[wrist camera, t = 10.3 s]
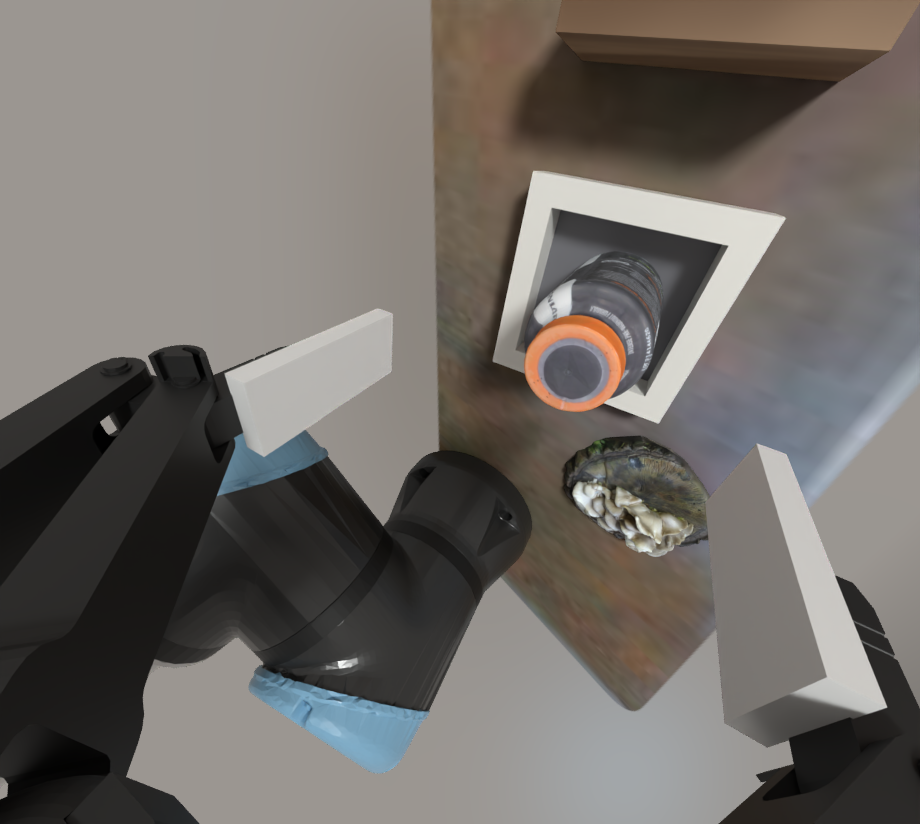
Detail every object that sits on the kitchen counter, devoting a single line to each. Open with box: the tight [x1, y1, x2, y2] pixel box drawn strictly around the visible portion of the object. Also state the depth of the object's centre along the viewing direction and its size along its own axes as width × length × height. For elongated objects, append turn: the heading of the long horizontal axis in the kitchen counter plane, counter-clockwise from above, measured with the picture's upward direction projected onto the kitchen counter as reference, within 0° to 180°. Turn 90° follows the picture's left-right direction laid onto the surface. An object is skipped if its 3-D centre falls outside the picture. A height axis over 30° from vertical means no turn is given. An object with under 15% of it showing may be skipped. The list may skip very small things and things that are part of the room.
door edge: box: [556, 0, 920, 82], centre depth 14 cm, size 2×11×5 cm, turn 82°
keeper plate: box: [493, 171, 786, 424], centre depth 22 cm, size 12×12×2 cm
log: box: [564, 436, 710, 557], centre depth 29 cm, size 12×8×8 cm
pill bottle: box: [524, 251, 664, 412], centre depth 19 cm, size 6×6×11 cm
